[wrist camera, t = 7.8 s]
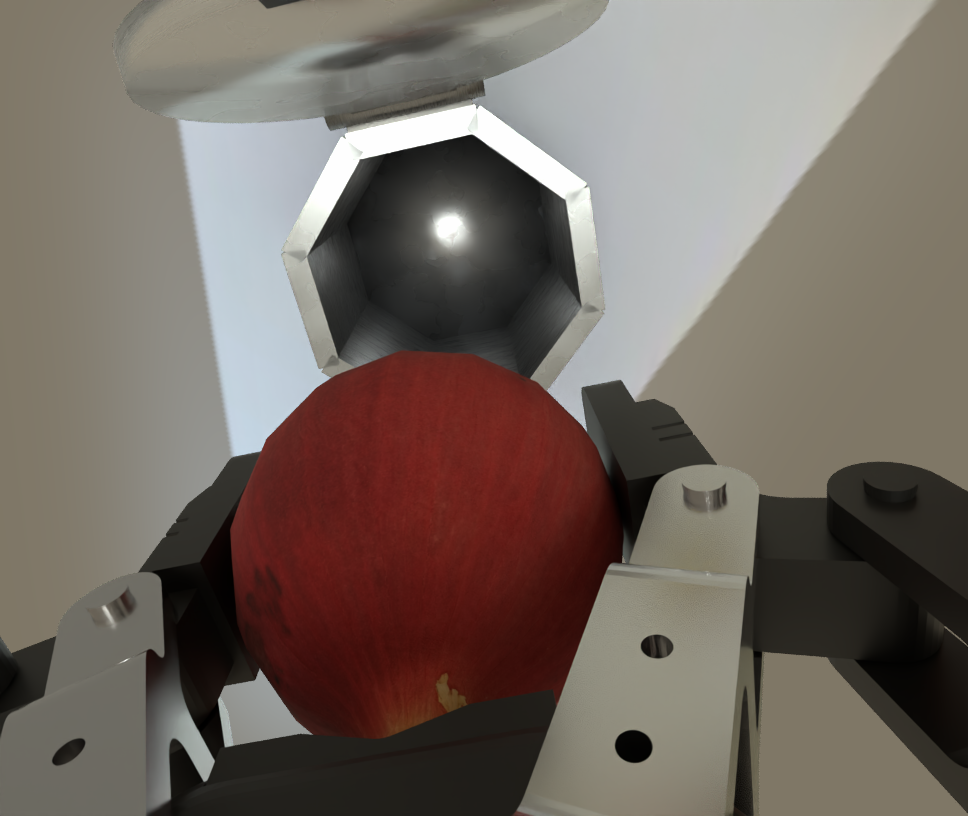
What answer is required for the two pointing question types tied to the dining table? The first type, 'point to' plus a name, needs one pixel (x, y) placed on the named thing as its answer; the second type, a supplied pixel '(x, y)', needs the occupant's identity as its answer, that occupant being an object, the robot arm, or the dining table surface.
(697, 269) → the dining table surface
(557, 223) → the pot
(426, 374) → the onion
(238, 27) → the lid
